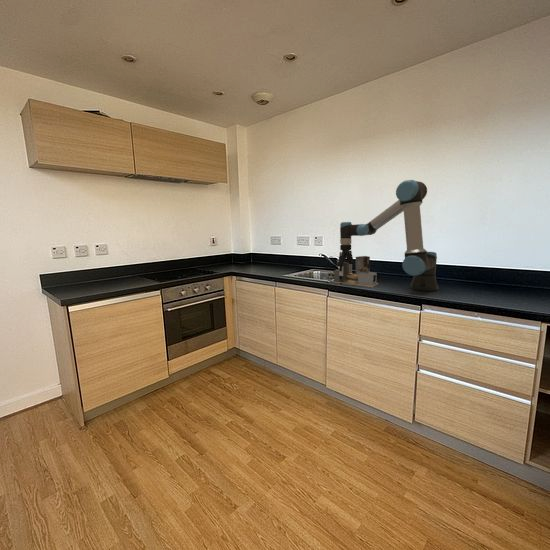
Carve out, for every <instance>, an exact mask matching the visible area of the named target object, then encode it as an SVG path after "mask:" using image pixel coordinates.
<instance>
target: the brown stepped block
mask: <svg viewBox="0 0 550 550" xmlns="http://www.w3.org/2000/svg"><path fill="white" fill-rule="evenodd" d="M340 277H341V278H342V281H348V280H350V279H351V280H353V279H354V280H358V274H355V273H349V262H348V261H347V262H346V261H344V263H343V276H340Z"/></svg>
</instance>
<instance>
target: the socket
mask: <svg viewBox="0 0 550 550" xmlns="http://www.w3.org/2000/svg"><path fill="white" fill-rule="evenodd" d="M333 281H337V282H340V281H342V278H341V277H340V276H339V268H338V269H335V270H334V271H333Z"/></svg>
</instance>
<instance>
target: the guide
mask: <svg viewBox="0 0 550 550" xmlns="http://www.w3.org/2000/svg"><path fill="white" fill-rule="evenodd" d="M377 275H378V274H377V272H372V271H370V272H359V273H358V279H357V280H353V279H351V280H350V279H349V280H348V281H340V282H337V281H334V280H332V281H331V283H332V282H335V283H334V284H340V283H342V284H341V285H350V286H351V285H352V286H360V287H367V288H374V286H375V287H377V286H379V284H380V283H378V282H377Z"/></svg>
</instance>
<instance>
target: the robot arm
mask: <svg viewBox="0 0 550 550" xmlns="http://www.w3.org/2000/svg"><path fill="white" fill-rule="evenodd" d="M427 194H428V187H427V185H426V184H425V183H424V182H422V181H418V180H415V179H406V180H403V181H402V182H400V183H399V184H398V185H397V187H396V190H395V195H396V198H397V199H398V200H397V201H395V202H394V203H393V204H391V205H390V206H389V207H388V208H386V209H385V210H384V211H382V212H381V213H379V214H378V215H377V216H375V217H374V218H372V219H371V220H370V221H369V222H368V223H360V224H352V222H351V221H343V222H340V225H339V226H340V227H339V232H340V233H339V234H340V235H339V238H340V240H339V243H340V245H339V247H340V248H339V249H340V252H339V257H338V259H337V260H338V261H337V263H336V265H337V267H338V269H339V276H343V263H344V262H346V261H347V262H349V274H353V265H354V262H355V261H354V256H353V252H352V237H354V236H356V237H357V236H358V237H360V236H361V237H363V236H371V235H375V234H376V233H377V231H378V230H379V229H381V228H382V227H384V226H385V225H386V224H387V223H389V222H390V221H392V220H393V219H395V218H396V217H398V216H399V215H400V214H402V213H403V218H404V220H403V221H404V231H405V243H406V250H405V252H404V253H403V254H404V259H403V260H402V263H401V265H402V269H403V271H404V272H405V273H406V274H408V275H409V276H413V278H412V281H411V283H410V289H412V290H415V291H423V292H424V291H425V292H434V291H435V292H436V291H438V290H439V285H438V280H437V278H436V277H437V276H436V274H437V260H438V256H437V252H434V251H428V250H426V248H424V241H423V229H422V216H421V215H422V214H421V205H422V204H423V203H424V202H423V200H424V199H425V197H426V196H427ZM345 260H346V261H345Z"/></svg>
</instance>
